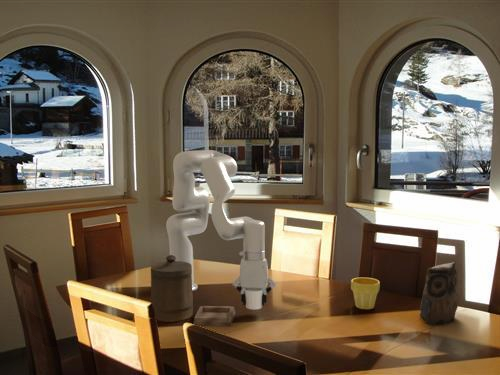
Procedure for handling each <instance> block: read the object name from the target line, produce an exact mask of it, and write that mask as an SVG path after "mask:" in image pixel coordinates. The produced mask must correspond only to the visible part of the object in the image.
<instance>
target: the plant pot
mask: <svg viewBox="0 0 500 375" xmlns="http://www.w3.org/2000/svg"><path fill="white" fill-rule="evenodd" d="M380 284H381V282H380V280H378V279H376V278H372V277H355V278H352V279H351V280H350V290H351V291H352V293H353V298H354V303H355V307H356V308H358V309H360V310H371V309H374V307H375V304H376V300H377V295H378V293H379V292H380V286H381V285H380Z"/></svg>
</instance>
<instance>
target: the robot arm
mask: <svg viewBox="0 0 500 375" xmlns="http://www.w3.org/2000/svg"><path fill="white" fill-rule="evenodd" d="M172 163H173V164H172V170H173V176H174V178H173V179H174V180H173V190H172V208H173V209H174V210H175V211H176V212H180V213H177V214H176V213H175V214H173V215H171V216H170V217H168V219H167V220H166V226H165V227H166V232H167V236H168V244H169V255H173V256H175V257H176V260H175V261H181V262H187V263H190V264H191V265H192V292H193V291H196V290H197V289H198V288H199V286H198V284H197V283H196V282H195V277H194V275H195V274H194V249H193V244H192V242H191V240H190V239H189V236H194V235H199V234H201V233H204V232H205V231H206V229H207V226H208V223H209V221H208V220H209V210H210V204H211V202H210V200H211V199H210V195H209V193H208V192H209V191H210V193H211V195H212V198H213V202H212V204H211V211H210V212H211V213H210V214H211V220H212V223H213V225H214V228H215V230H216V231H217V234H218V235H219V238H221V239H223V240H225V241H231V240H233V241H234V240H236V239H243V250H242V251H239V255H238V256H240V257H242V258H241V260H240V266H239V275H238V277H236V278H235V279H234V280H233V281H232V286H234V288H236V290H237V291H238V292H239V293H240V294H241V295H240V298H241V299H240V300H241V303H242V305H243V306H246V299H245V289H246V288H261V289H262V291H263V295H262V307H264V306H265V304H266V303H267V298H268V297H267V295H268V293H269V292H270V291H272V290H273V288H275V287H276V285H277V283H276V282H275V281H274V280H273V279H272V278H271V276H269V267H268V260H267V258H266V257H265V256H266V253H265V252H266V250H265V249H266V248H265V246H266V245H265V244H266V238H265V237H266V231H265V230H266V226H265V222H264V221H263V220H258V219H254V218H252V217H249V216H239V217H232V218H228V217H227V215H226V213H225V210H224V203H225V202H226V201H228V200H229V199H231V198H232V197H233V196H234V194H235V193H236V189H235V186H234V185H233V183H232V180H231V178H233V177H235V176H236V175H237V172H238V165H237V162H236V160H235V159H234V158H233V157H232V156H230V155H228V154H226V153H222V152H220V151H217V150H214V149H213V150H212V149H202V150H187V151H185V150H184V151H181V152H178V153H177V154H176V155H175V157H174V158H173V161H172ZM194 173H202V176H203V178H204V180H205V182H206V185H207V186H208V188H209V191H207V190H208V189H206V188H204V186H203V187H202V186H196V178H195V175H194ZM269 284H270V285H269Z"/></svg>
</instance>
